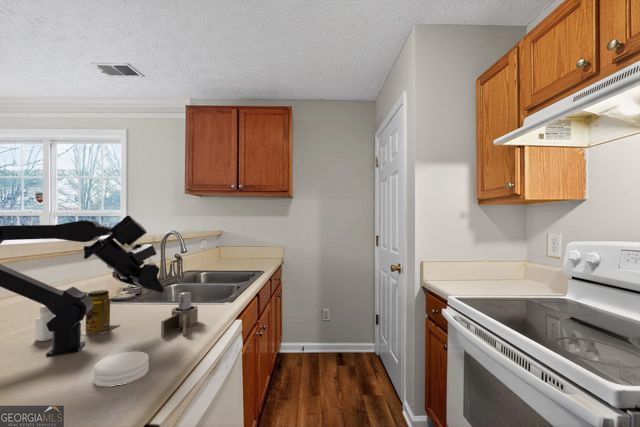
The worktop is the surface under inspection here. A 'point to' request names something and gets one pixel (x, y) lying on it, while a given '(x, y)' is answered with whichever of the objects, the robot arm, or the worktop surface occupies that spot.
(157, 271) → the robot arm
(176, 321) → the hinge
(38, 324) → the pepper shaker
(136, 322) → the worktop surface
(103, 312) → the condiment
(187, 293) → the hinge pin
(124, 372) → the coaster
